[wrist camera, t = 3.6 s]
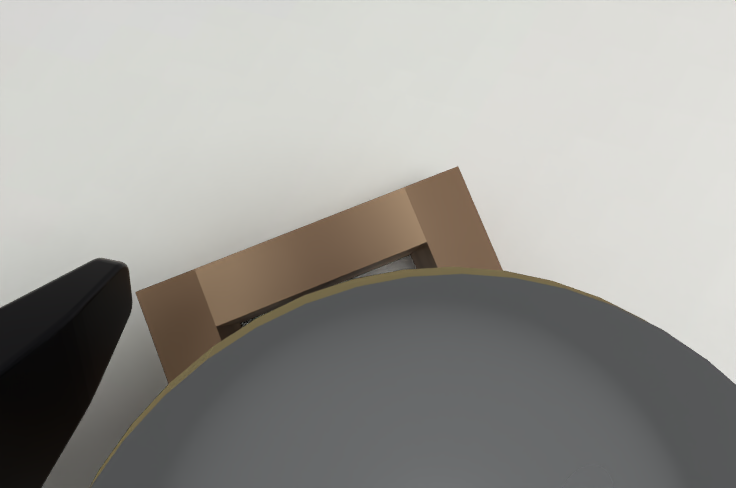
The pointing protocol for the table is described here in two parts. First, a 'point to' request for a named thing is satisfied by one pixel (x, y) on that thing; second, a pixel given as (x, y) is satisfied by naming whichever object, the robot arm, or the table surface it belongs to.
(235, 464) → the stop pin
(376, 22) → the table surface
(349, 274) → the socket block
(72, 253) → the table surface
